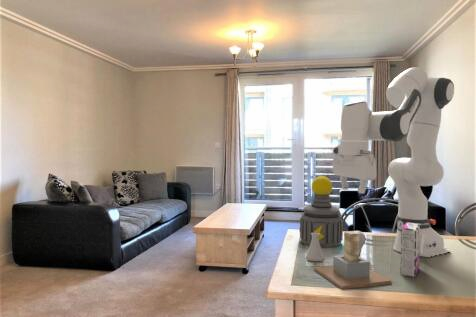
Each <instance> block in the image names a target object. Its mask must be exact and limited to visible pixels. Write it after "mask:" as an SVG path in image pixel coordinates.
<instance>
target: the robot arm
mask: <svg viewBox="0 0 476 317" xmlns="http://www.w3.org/2000/svg"><path fill="white" fill-rule="evenodd" d="M454 94H455V84H454V82H453V81H452V80H451V79H450V78H447V77H431V76H428V74H427V72H426V71H425V70H424V69H422V68H421V67H417V66H413V67H410V68H408V69H405V70H404V71H403V72H401V73H400V74H398V75H397V76H396V77H395V78H394V79H393V80H392V81H391V82H390V83H389V84H388V86H387V88H386V91H385V96H386V99H387V101H388V103H389V104H390V106H392V107H394V108H395V109H396V110H390V111H374V110H373V111H372V110H371V109H370V108H369V106H368V102H367V101H365V100H358V101H356V100H355V101H349V102H346V103H345V104H344V105H343V107H342V112H341V116H340V118H341V119H340V130H341V138H340V144H338V145H337V146H335V147H333V148H332V154H333V155H334V156H333V157H332V158H333V159H332V171H333V174H334V175H335V176H339V180H340V183H341V189H342V190H347V191H348V190H349V189H350V188H349V185H350V184H348V181H347V180H348V178H349V179H356V180H357V179H358V180H359V183H360V184H359V186H358V187H357V193H359V194H360V195H361V194H365V193H366V188H367V186H368V183H369V181H375V180H376V179H377V161H376V158H375V155H374V153H373V152H372V151H371V150H369V141H387V142H401V141H402V140H403V139H404V138H406V144H407V145H408V146H409V147H410V150H411V152H410V153H411V157H405V156H403V157H400V158H399V157H398V158H395V159H393V160H392V161H390V162H389V164H388V166H387V173H388V175H389V177H390V178H391V179H392V182H393V184H394V186H395V188H396V193H397V198H398V211H397V212H398V215H397V217H396V227H397V229H396V235H395V241H394V245H393V247H392V249H393V250H394V251H395V252H397V253H401V229H402V227H403V226H404V225H405V223H407V222H409V223H417V224H420V248H419V257H425V258H431V256H432V257H436V256H435V255H437V256H440V255H439V254H442V255H445V254H444V253H447V252H450V253H451V250H450V249H449V248H448V247H446V246H445V242H444V238H443V236H442V235H441V234H439V233H438V232H437V231H436V230H434V229H433V228H432V227H431V225H435V224H436V219H432V218H430V219H429V218H428V208H429V201H428V198H427V197H426V196H425V195H424V193H423V190H422V189H421V187H430V186H436V185H439V183H441V181H442V180H443V178H444V174H445V173H444V172H445V171H444V167H443V166H442V164H441V163H440V162H439V159H438V156H437V149H436V148H437V142H438V135H439V131H440V127H441V123H442V122H441V121H442V109H444V107H445V106H447V105H448V104H449V103H450V102H451V101H452V100H453V97H454ZM447 254H448V253H447Z"/></svg>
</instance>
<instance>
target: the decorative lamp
mask: <svg viewBox="0 0 476 317" xmlns="http://www.w3.org/2000/svg"><path fill="white" fill-rule="evenodd" d="M311 190H312V192H313V193H314V194H313V197H314V198H312V202H311V204H310V205H306V206H304V207H303V213H301V217H300V218H299V238H300V239H301V243H302V244H304V245H306V246H308V247H310V244H311V240H312V235H311V233H319V234H320V235H319V244H320V247H321V249H322V248H324V249H327V248H336V247H338V246H340V245H341V244H342V241H343V240H344V238H343V237H344V235H343V234H344V221H343V219H342V216H341V214H340V209H339V208H338V207H336V206H333V205H332V203H331V198H330V194H331V192H332V191H333V183H332V181H331V180H330V178H328V177H326V176H324V175H321V176H318V177H315V178H314V179H313V181H312V183H311Z"/></svg>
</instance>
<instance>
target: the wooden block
mask: <svg viewBox="0 0 476 317" xmlns="http://www.w3.org/2000/svg"><path fill="white" fill-rule="evenodd" d="M355 231H356V230H349V231H343V234H344V235H343V237H344V238H343V255H344V260H346V261H348V262H356V261H359V233H357V232H355Z"/></svg>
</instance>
